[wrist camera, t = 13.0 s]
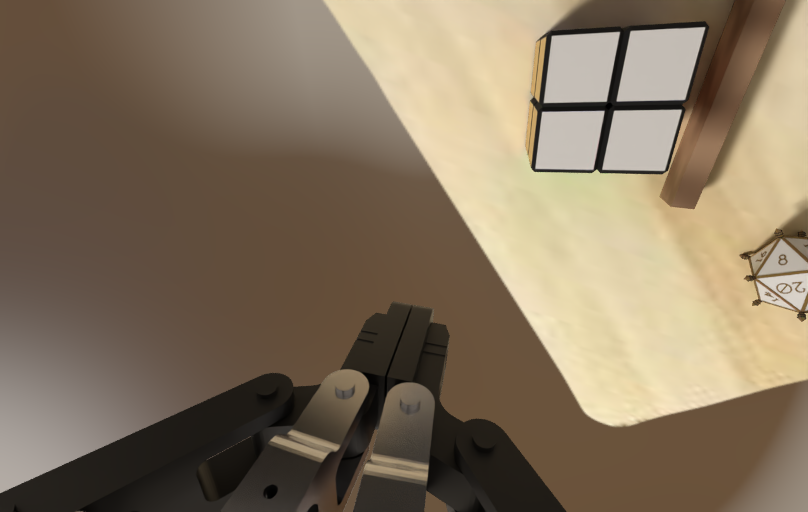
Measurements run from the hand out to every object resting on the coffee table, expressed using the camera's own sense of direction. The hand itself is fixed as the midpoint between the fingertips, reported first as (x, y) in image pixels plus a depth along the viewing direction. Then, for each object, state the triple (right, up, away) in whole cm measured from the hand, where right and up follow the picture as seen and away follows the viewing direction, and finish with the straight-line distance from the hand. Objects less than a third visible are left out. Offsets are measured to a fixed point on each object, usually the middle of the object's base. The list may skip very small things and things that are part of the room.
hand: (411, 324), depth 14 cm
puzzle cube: (+17, +18, +22) cm, 33 cm away
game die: (+38, +3, +25) cm, 45 cm away
